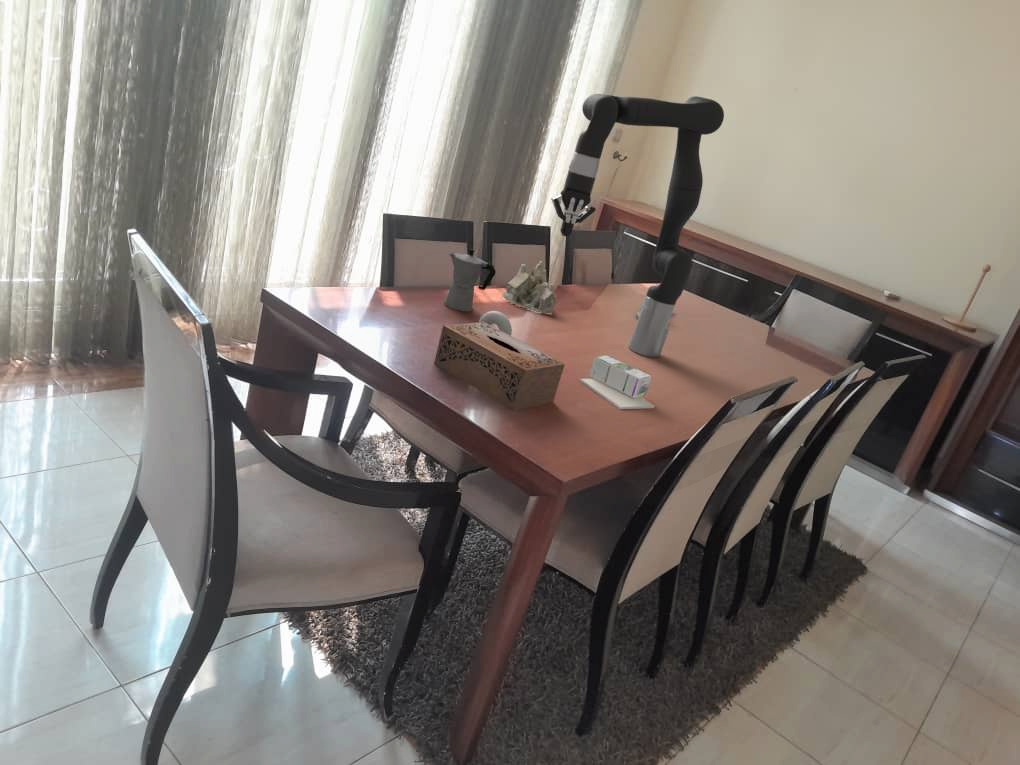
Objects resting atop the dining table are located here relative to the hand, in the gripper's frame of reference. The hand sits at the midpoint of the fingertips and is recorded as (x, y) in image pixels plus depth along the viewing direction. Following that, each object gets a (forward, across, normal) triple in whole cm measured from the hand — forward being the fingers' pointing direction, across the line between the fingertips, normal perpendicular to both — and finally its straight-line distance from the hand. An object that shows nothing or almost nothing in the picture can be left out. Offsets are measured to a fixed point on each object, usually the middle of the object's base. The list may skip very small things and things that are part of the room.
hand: (564, 235), depth 204 cm
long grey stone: (+32, +64, +55) cm, 90 cm away
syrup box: (+27, +9, -24) cm, 38 cm away
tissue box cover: (+31, -22, -39) cm, 54 cm away
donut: (+31, -17, -14) cm, 38 cm away
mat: (+31, +12, -34) cm, 48 cm away
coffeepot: (+31, -19, +18) cm, 41 cm away
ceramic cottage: (+31, +7, +35) cm, 47 cm away
